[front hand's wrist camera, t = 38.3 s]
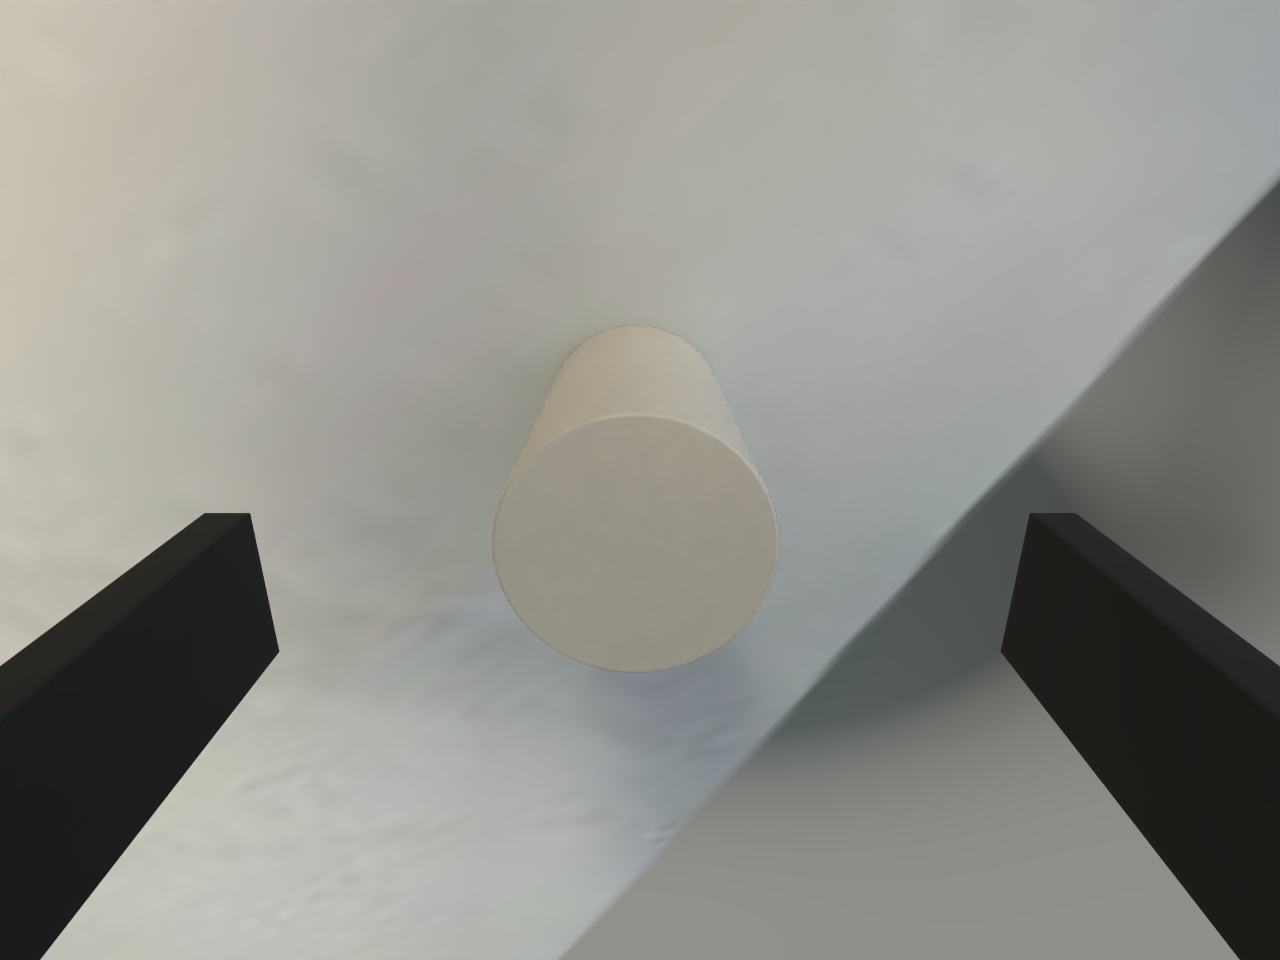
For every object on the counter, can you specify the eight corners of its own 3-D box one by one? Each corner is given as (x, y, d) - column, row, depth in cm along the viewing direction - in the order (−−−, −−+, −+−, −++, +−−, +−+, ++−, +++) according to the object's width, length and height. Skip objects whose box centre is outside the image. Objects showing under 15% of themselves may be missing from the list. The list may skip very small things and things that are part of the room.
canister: (648, 287, 24) (657, 349, 13) (756, 423, 25) (836, 570, 15) (514, 400, 25) (430, 534, 15) (624, 523, 26) (617, 719, 16)
